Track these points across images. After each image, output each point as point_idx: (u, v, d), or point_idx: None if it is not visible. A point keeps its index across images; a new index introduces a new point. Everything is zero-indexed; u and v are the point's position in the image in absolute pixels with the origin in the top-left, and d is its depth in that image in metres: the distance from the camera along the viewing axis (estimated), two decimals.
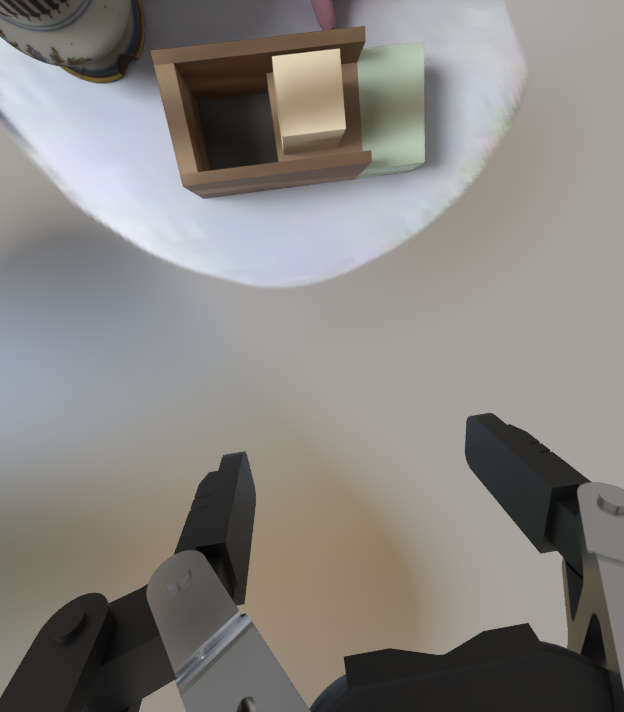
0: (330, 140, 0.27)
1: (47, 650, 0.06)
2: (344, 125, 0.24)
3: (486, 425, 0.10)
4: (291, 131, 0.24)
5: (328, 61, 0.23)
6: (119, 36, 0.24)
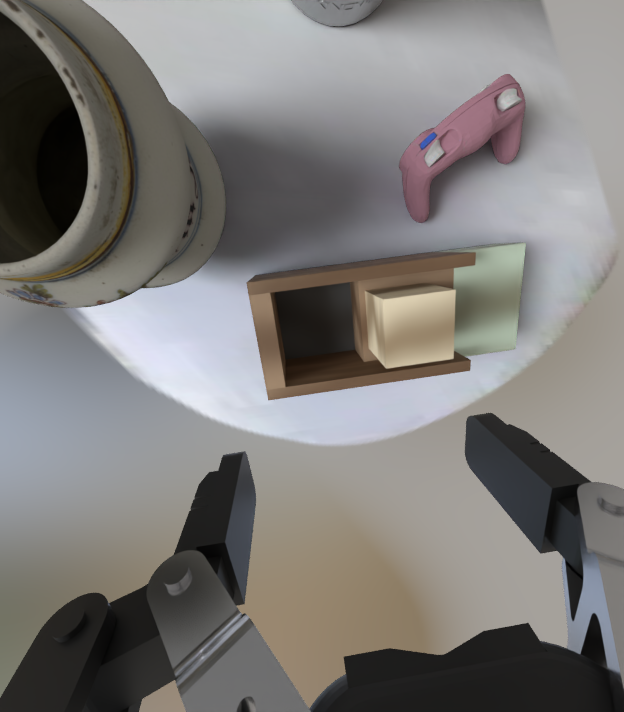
0: None
1: (47, 650, 0.06)
2: (452, 355, 0.23)
3: (486, 425, 0.10)
4: (395, 363, 0.22)
5: (442, 301, 0.21)
6: (209, 257, 0.23)
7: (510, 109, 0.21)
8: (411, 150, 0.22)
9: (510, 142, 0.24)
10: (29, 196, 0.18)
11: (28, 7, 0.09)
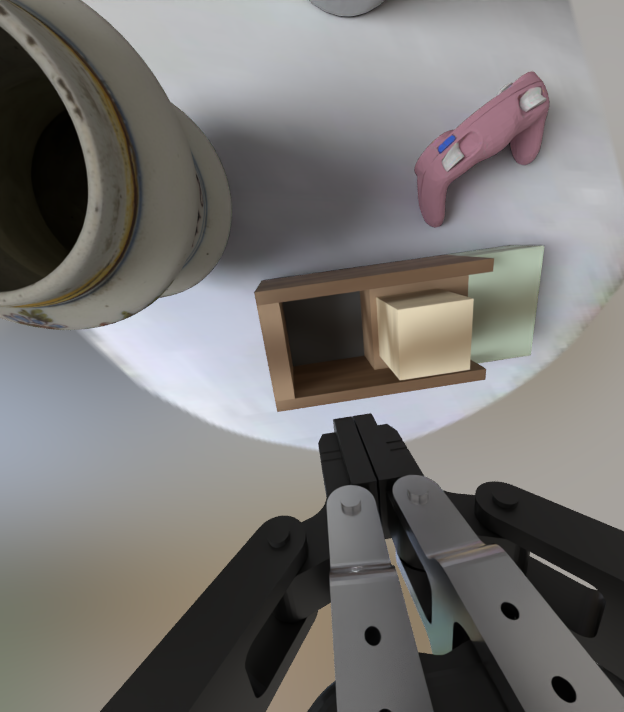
0: None
1: (262, 545, 0.07)
2: (468, 366, 0.22)
3: (360, 424, 0.11)
4: (409, 374, 0.21)
5: (459, 311, 0.20)
6: (214, 265, 0.22)
7: (534, 109, 0.20)
8: (428, 153, 0.21)
9: (531, 143, 0.23)
10: (25, 206, 0.17)
11: (17, 8, 0.08)
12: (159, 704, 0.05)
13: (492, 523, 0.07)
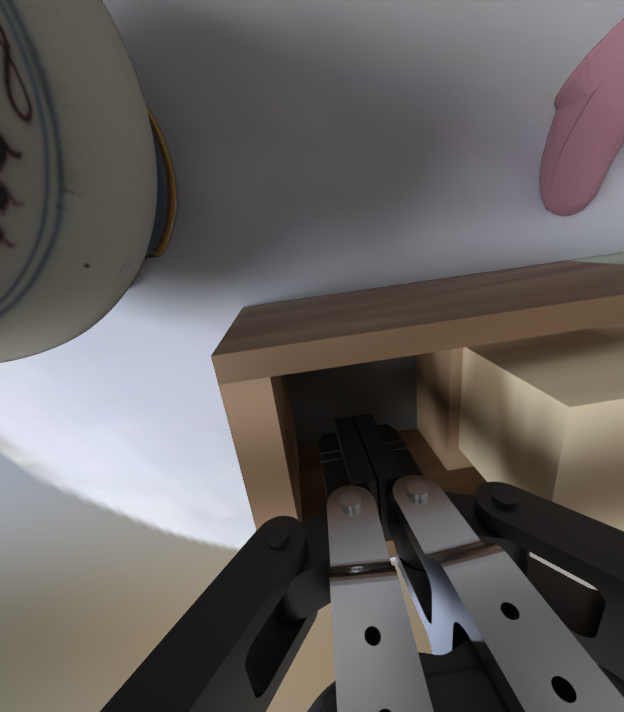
0: None
1: (262, 545, 0.07)
2: None
3: (360, 424, 0.11)
4: None
5: None
6: (126, 290, 0.10)
7: None
8: (616, 42, 0.09)
9: None
10: None
11: None
12: (159, 704, 0.05)
13: (492, 523, 0.07)
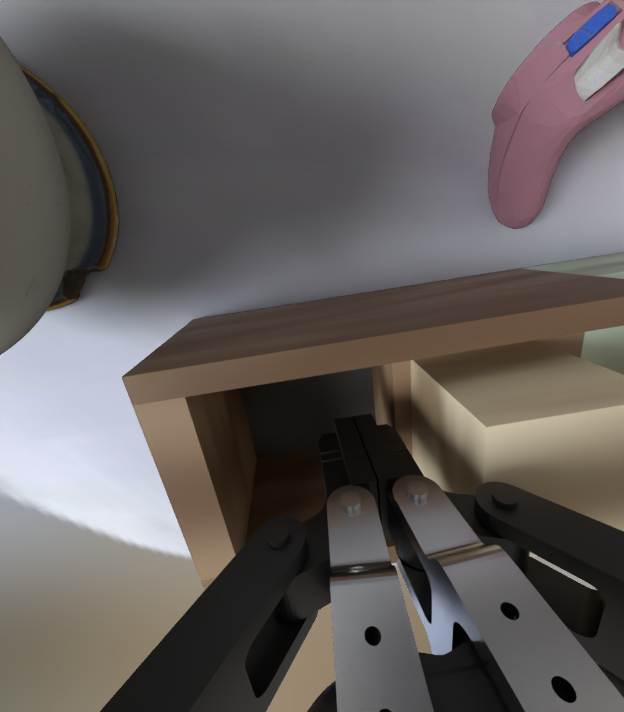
0: None
1: (262, 545, 0.07)
2: None
3: (360, 424, 0.11)
4: None
5: None
6: (44, 310, 0.10)
7: None
8: (539, 61, 0.09)
9: None
10: None
11: None
12: (159, 704, 0.05)
13: (492, 523, 0.07)
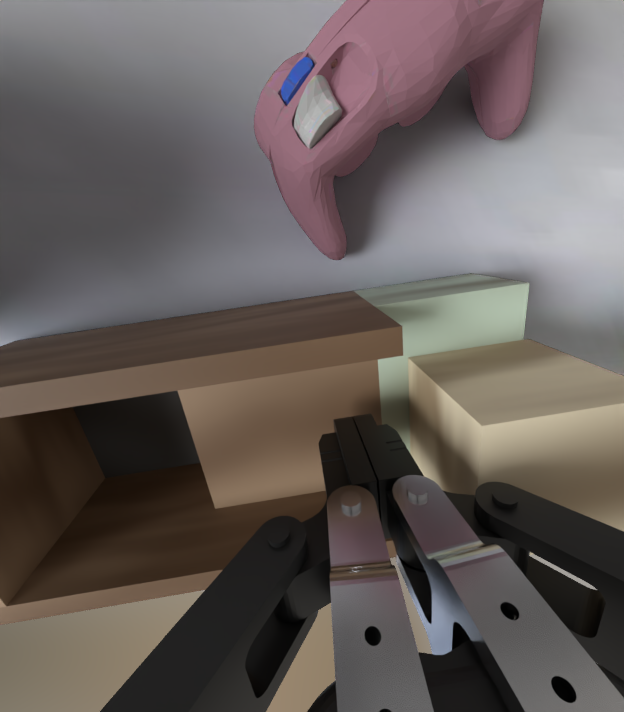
0: None
1: (262, 545, 0.07)
2: None
3: (360, 425, 0.11)
4: None
5: None
6: None
7: None
8: (265, 108, 0.09)
9: (509, 89, 0.11)
10: None
11: None
12: (159, 704, 0.05)
13: (492, 523, 0.07)
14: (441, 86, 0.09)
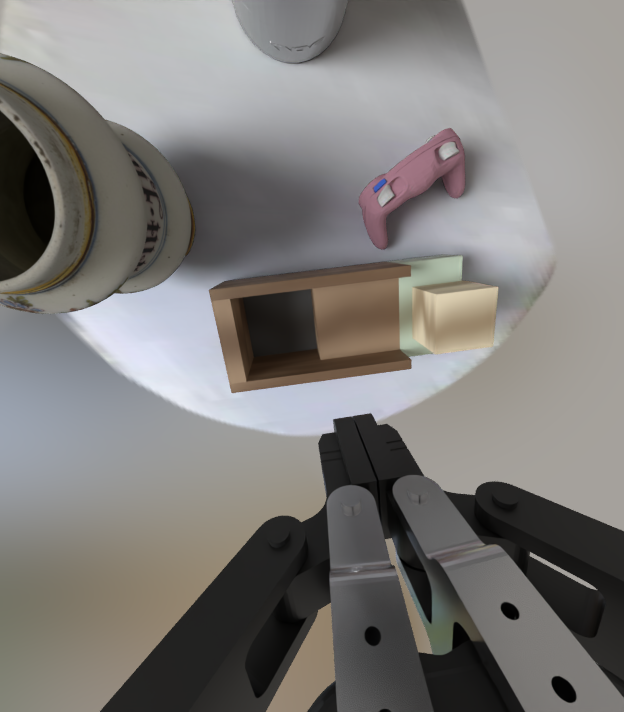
0: None
1: (262, 545, 0.07)
2: (492, 344, 0.26)
3: (360, 424, 0.11)
4: (443, 349, 0.26)
5: (486, 296, 0.25)
6: (177, 267, 0.26)
7: (450, 159, 0.25)
8: (366, 192, 0.26)
9: (456, 182, 0.28)
10: (17, 216, 0.21)
11: (9, 92, 0.12)
12: (159, 704, 0.05)
13: (492, 523, 0.07)
14: (428, 187, 0.26)
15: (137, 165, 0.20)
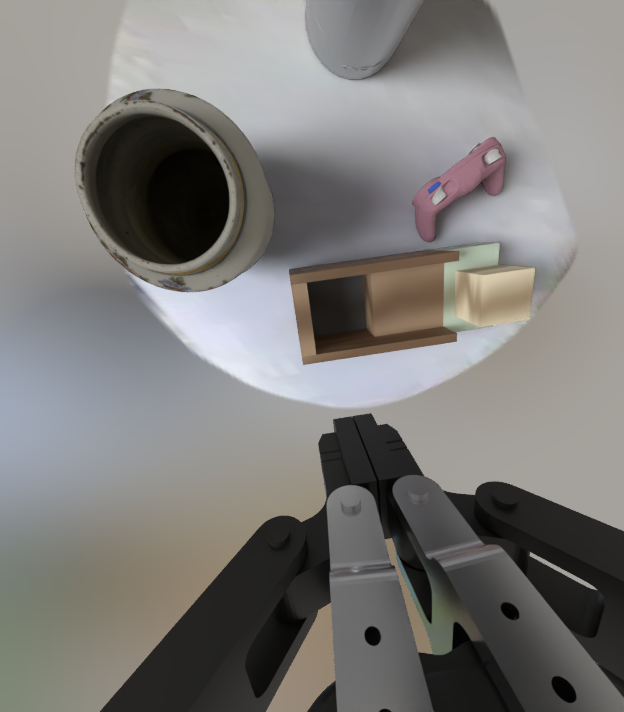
0: None
1: (262, 545, 0.07)
2: (528, 317, 0.31)
3: (360, 424, 0.11)
4: (487, 323, 0.30)
5: (525, 276, 0.29)
6: (260, 256, 0.30)
7: (494, 163, 0.29)
8: (422, 193, 0.30)
9: (495, 182, 0.32)
10: (145, 216, 0.25)
11: (199, 122, 0.17)
12: (159, 704, 0.05)
13: (492, 523, 0.07)
14: None
15: None
